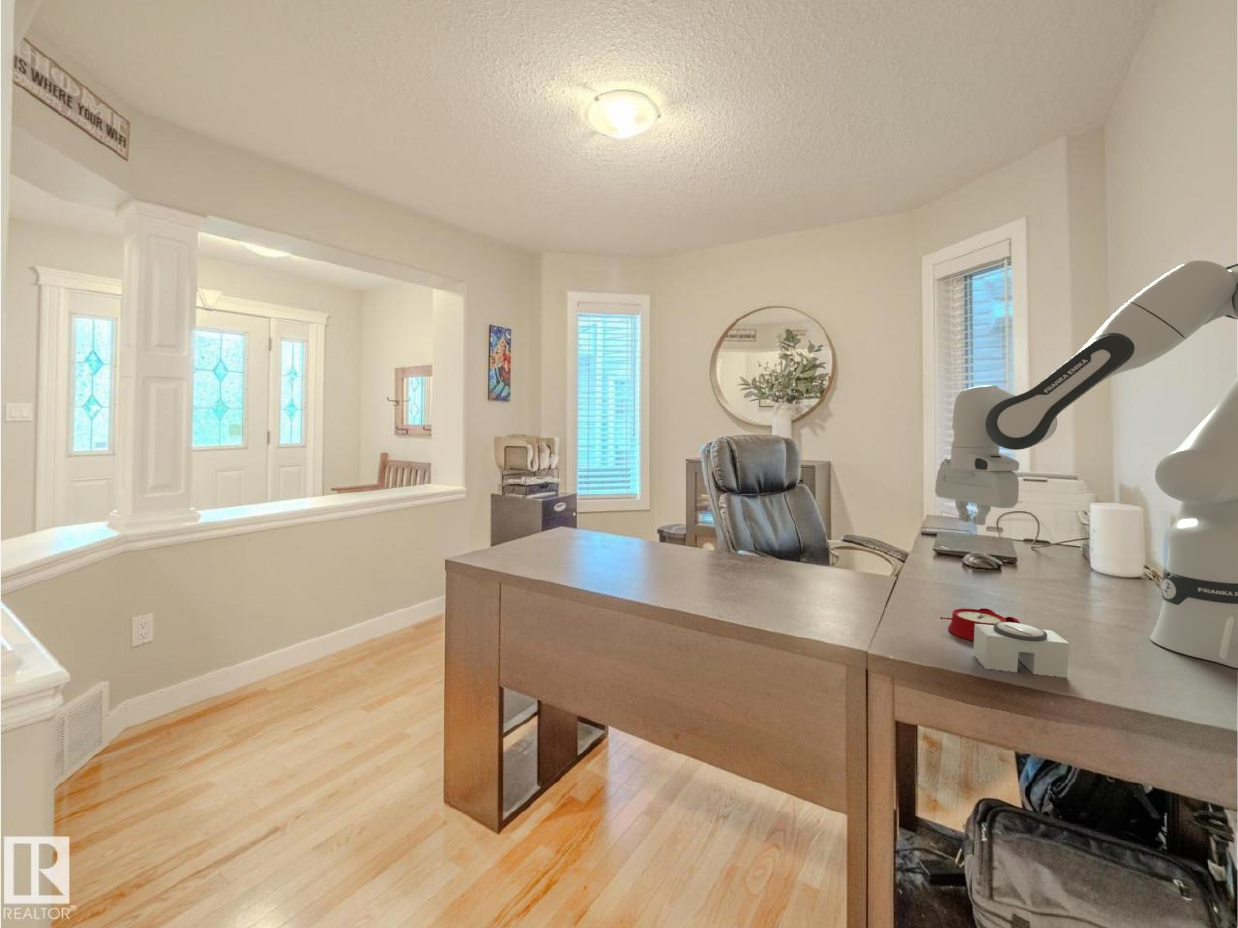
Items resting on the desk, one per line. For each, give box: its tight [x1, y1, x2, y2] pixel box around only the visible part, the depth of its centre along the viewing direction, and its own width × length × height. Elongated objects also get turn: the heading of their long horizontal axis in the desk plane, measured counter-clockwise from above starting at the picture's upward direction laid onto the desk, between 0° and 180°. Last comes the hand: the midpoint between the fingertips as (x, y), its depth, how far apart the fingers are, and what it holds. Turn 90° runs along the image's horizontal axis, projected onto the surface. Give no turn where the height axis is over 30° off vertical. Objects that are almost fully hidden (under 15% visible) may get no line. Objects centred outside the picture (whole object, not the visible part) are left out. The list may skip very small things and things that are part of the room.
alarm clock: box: [939, 607, 1021, 642], centre depth 111 cm, size 10×6×15 cm
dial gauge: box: [972, 622, 1070, 679], centre depth 96 cm, size 12×8×7 cm, turn 74°
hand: (971, 522), depth 120 cm, fingers open, 3 cm apart
